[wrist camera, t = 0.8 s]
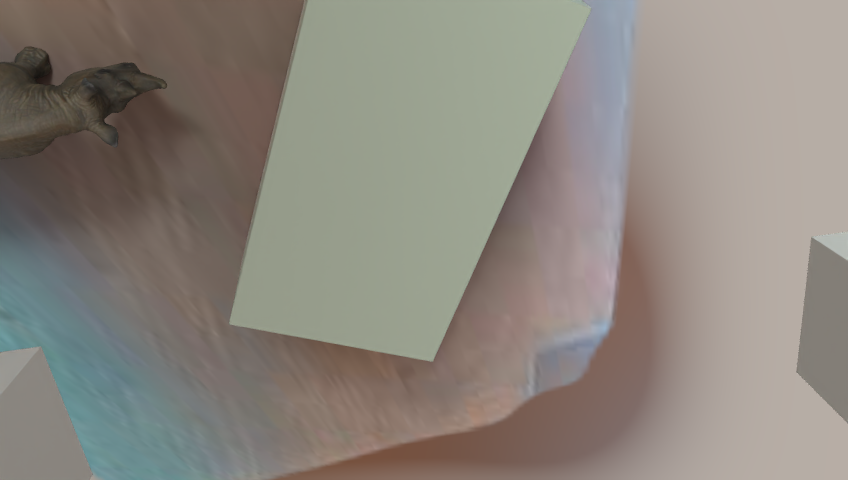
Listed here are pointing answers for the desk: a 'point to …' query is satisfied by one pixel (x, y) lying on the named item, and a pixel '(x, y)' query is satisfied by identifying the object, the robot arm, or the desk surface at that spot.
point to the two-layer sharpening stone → (395, 163)
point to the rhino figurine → (62, 102)
